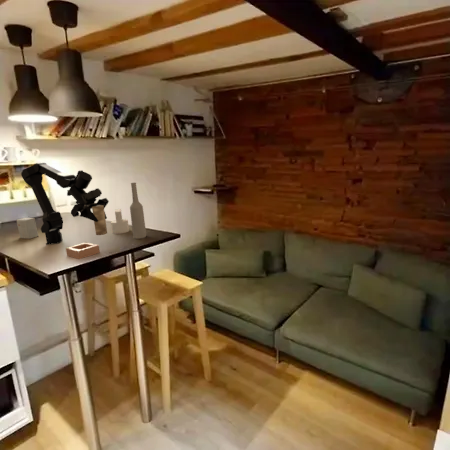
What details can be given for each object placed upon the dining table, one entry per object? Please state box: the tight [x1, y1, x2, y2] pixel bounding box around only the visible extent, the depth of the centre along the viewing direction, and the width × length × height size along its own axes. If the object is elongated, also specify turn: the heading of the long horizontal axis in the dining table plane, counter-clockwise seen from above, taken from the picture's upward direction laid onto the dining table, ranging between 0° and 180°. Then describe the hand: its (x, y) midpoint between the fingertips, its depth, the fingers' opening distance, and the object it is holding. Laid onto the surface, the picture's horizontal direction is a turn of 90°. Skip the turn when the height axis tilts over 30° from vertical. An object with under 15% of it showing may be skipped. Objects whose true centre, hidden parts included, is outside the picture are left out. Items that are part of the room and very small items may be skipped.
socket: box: [65, 241, 101, 260], centre depth 150 cm, size 10×10×4 cm
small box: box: [16, 217, 39, 240], centre depth 186 cm, size 8×6×10 cm
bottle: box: [129, 182, 147, 240], centre depth 170 cm, size 7×7×28 cm
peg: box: [91, 205, 108, 236], centre depth 155 cm, size 5×5×13 cm
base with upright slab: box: [110, 208, 130, 235], centre depth 186 cm, size 9×9×12 cm
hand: (101, 220), depth 154 cm, fingers closed on peg, 5 cm apart
